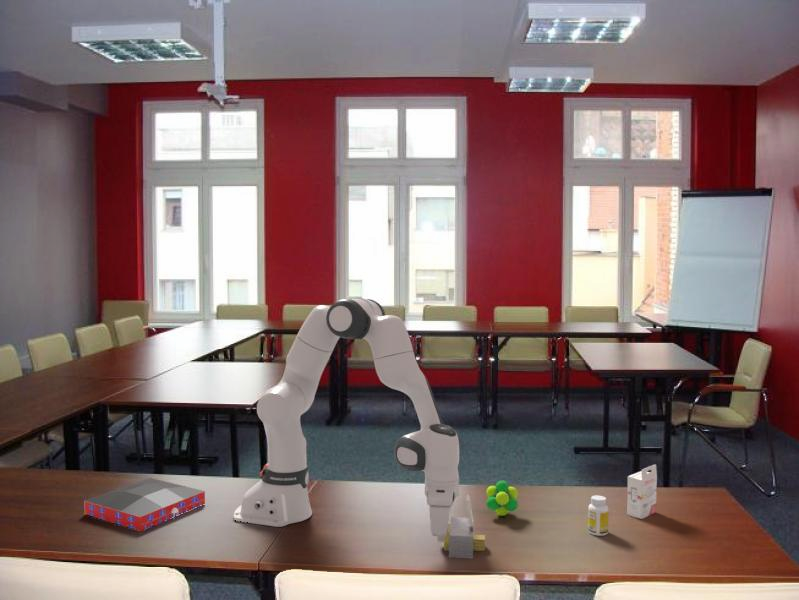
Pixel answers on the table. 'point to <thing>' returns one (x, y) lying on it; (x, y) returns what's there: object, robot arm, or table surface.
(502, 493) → the molecule model
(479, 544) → the lynch pin
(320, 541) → the table surface
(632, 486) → the ink cartridge box
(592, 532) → the supplement bottle
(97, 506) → the building model
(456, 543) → the block
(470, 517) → the bar
